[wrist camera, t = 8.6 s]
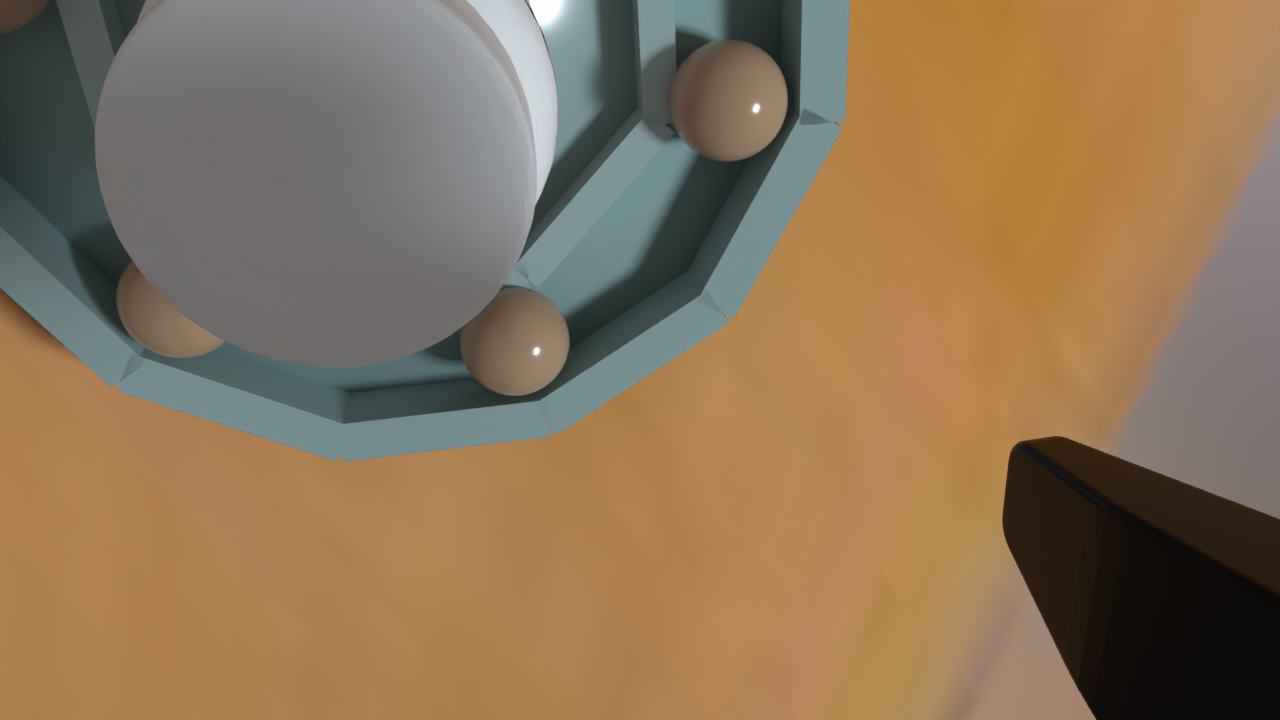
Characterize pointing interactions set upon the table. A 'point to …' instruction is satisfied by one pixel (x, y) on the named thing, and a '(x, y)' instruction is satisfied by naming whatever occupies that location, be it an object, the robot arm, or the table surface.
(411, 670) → the table surface
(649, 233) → the tray
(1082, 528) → the robot arm
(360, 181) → the pill bottle
